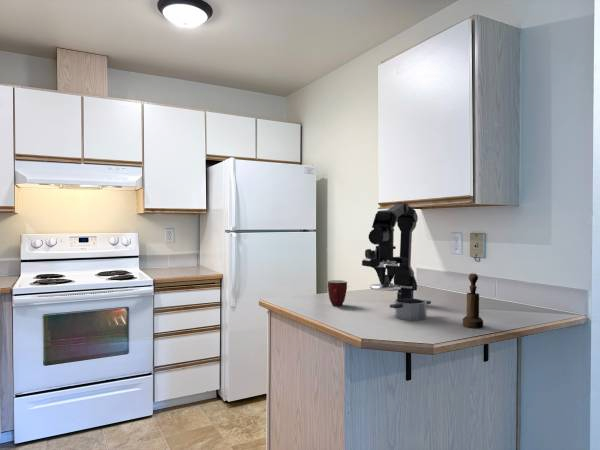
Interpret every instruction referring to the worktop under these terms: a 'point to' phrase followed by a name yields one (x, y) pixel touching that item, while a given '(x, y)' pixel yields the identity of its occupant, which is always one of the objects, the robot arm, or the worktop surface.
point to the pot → (410, 309)
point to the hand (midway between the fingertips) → (385, 284)
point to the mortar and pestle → (473, 306)
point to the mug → (337, 291)
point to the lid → (385, 285)
